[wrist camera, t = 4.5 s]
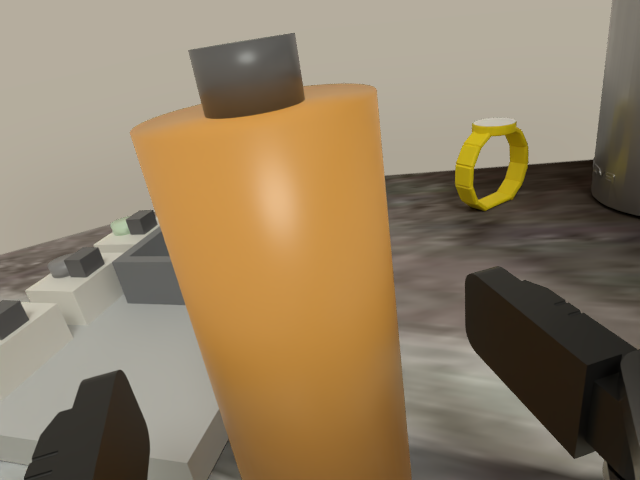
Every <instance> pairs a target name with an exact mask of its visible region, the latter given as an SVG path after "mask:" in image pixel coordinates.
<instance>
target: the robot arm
mask: <svg viewBox="0 0 640 480" xmlns="http://www.w3.org/2000/svg"><path fill="white" fill-rule="evenodd" d="M591 192H592V195H593V196H594V197H595V198H596V199H597V200H598V201H599V202H601V203H603V204H604V205H606V206H608V207H611V208H613V209H616V210H619V211H622V212H625V213H629V214H633V215H637V216H640V0H612V8H611V17H610V26H609V35H608V44H607V53H606V61H605V70H604V79H603V88H602V97H601V106H600V115H599V123H598V133H597V141H596V150H595V157H594V160H593V176H592V185H591ZM465 326H466V333H467V337H468V339H469V342H470V344H471V346H472V348H473V349H474V351H475V352H476V353H477V354H478V355H479V356H480V357H481V359H482V360H483V361H484V362H485V363H486V364H487V365H488V366H489V367H490V368H491V369H492V370H493V371H494V373H495V374H496V375H497V376H498V377H499V378H500V379H501V380H502V381H503V382H504V383H505V384H506V386H507V387H508V388H509V389H510V390H511V391H512V392H513V393H514V394H515V395H516V396H517V397H518V398H519V400H520V401H521V402H522V403H523V404H524V405H525V406H526V407H527V408H528V409H529V410H530V411H531V413H532V414H533V415H534V416H535V417H536V418H537V419H538V420H539V421H540V422H541V423H542V424H543V425H544V427H545V428H546V429H547V430H548V431H549V432H550V433H551V434H552V435H553V436H554V437H555V438H556V440H557V441H558V442H559V443H560V444H561V445H562V446H563V447H564V448H565V449H566V450H567V451H568V452H569V454H570V455H571V456H572V457H573V458H574V459H575V458H578V457H581V456H584V455H586V454H589V453H592V452H594V451H596V452H597V453H598V454H599V455H600V456H601V457H602V458H603V459H604V462H603V478H604V480H640V349H639V350H637V349H636V348H634V347H633V346H631V345H630V344H629V343H627V342H626V341H624V340H623V339H621V338H620V337H618V336H617V335H615V334H614V333H612V332H611V331H610V330H608V329H607V328H605V327H604V326H602V325H601V324H599V323H598V322H596V321H595V320H593V319H592V318H590V317H589V316H588V315H586V314H585V313H582V314H581V312H580V310H579V309H577V308H576V307H574V306H573V305H571V304H570V303H566V302H565V300H564V299H563V298H561V297H560V296H558V295H557V294H555V293H554V292H552V291H551V290H550V289H548V288H546V287H543V286H540V285H537V284H534V283H532V282H529V281H526V280H524V281H520V280H519V279H518V278H516V277H515V276H513V275H512V274H511V273H509V272H508V271H506V270H505V269H504V268H502V267H499V266H497V267H493V268H489V269H486V270H482V271H478V272H475V273H471V274H469V275H467V277H466V280H465ZM149 457H150V439H149V433H148V428H147V424H146V421H145V419H144V417H143V414H142V412H141V409H140V407H139V405H138V402H137V400H136V398H135V395H134V393H133V391H132V388H131V386H130V384H129V381H128V379H127V377H126V375H125V373H124V372H123V371H122V370H116V371H113V372H109V373H105V374H102V375H98V376H95V377H91V378H87V379H84V380H82V381H81V383H80V385H79V388H78V391H77V395H76V398H75V401H74V404H73V407H72V408H71V409H68V410H64V411H61V412H59V413H58V414H57V415H56V416H55V417H54V419H53V420H52V421H51V422H50V424H49V425H48V426H47V427H46V429H45V430H44V431H43V432H42V434H41V435H40V437H39V440H38V442H37V445H36V448H35V450H34V453H33V456H32V458H31V459H32V463H29V466H28V469H27V471H26V474H25V476H24V480H147V478H148V467H149Z"/></svg>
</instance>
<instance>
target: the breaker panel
mask: <svg viewBox="0 0 640 480" xmlns="http://www.w3.org/2000/svg"><path fill="white" fill-rule="evenodd" d="M110 226H111V228H112V231H113V232H112V233H111V234H109V235H108V236H106V237H105V238H103V239H102V240H100V241H99V242H97V243H96V244H94V247H83V248H82V249H80V250H78V251H77V252H75V253H73V254H67V255H64V256H61V257H58V258H56V259H54V260H52V261H51V262H50V263H49V264H48V268H49V270H50V273H51V274H49V275H48V276H46V277H45V278H43V279H42V280H40V281H39V282H37V283H36V284H34V285H33V286H31V287H30V288H28V289H27V290H25V291H26V293H27V295H28V297H29V300H30V302H20V301H9V300H2V301H1V302H0V460H1V461H7V462H12V463H18V464H24V465H29V463H32V459H31V458H32V456H33V453H34V450H35V448H36V445H37V442H38V440H39V437H40V435H41V434H42V432H43V431H44V430H45V429H46V427H47V426H48V425H49V424H50V422H51V421H52V420H53V419H54V417H55V416H56V415H57V414H58V413H59V412H61V411H64V410H68V409H71V408H72V407H73V404H74V401H75V398H76V395H77V391H78V388H79V385H80V383H81V381H82V380H84V379H87V378H91V377H95V376H98V375H102V374H105V373H109V372H113V371H116V370H122V371H123V372H124V373H125V375H126V377H127V379H128V381H129V384H130V386H131V388H132V391H133V393H134V395H135V398H136V400H137V402H138V405H139V407H140V409H141V412H142V414H143V417H144V419H145V421H146V424H147V428H148V433H149V439H150V457H149V467H148V478H147V480H207V479H208V477H209V475H210V473H211V471H212V469H213V467H214V466H215V464H216V462H217V460H218V458H219V456H220V454H221V452H222V450H223V448H224V446H225V445H226V443H227V441H228V439H229V438H228V435H227V432H226V429H225V426H224V423H223V419H222V416H221V413H220V410H219V407H218V404H217V401H216V398H215V395H214V392H213V389H212V385H211V382H210V379H209V376H208V373H207V370H206V367H205V364H204V361H203V358H202V355H201V351H200V348H199V345H198V342H197V339H196V336H195V333H194V330H193V327H192V324H191V321H190V317H189V314H188V311H187V308H186V305H185V302H184V299H183V296H182V293H181V290H180V287H179V283H178V280H177V277H176V274H175V271H174V268H173V265H172V262H171V259H170V256H169V252H168V249H167V246H166V243H165V240H164V237H163V234H162V231H161V228H160V225H159V222H158V218H157V217H155V215H154V212H153V210H144V211H143V210H142V211H138V212H137V213H135V214H133V215H132V216H130V217H124V218H121V219H118V220H116V221H114V222H112V223H111V224H110Z"/></svg>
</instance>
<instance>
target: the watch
mask: <svg viewBox="0 0 640 480" xmlns="http://www.w3.org/2000/svg"><path fill="white" fill-rule="evenodd" d="M501 135H505V136H506V138H507V140H508V143H509V145H510V163H509V167H508V170H507V174H506V177H505V180H504V181H503V183H502V184H501V186H500V187H499V189H498V191H497V192H496V193H493V194H491V195H489V196H487V197H484V198H482V199H480V200H478V199H477V196H476V193H475V191H474V188H473V176H474V166H475V163H476V161H477V158H478V155H479V153H480V150H481V148H482V147H483V146H484V144H485V143H486V142H487V141H488V139H489V138H490V137H491V136H501ZM527 145H528V144H527V142H526V139H525V137H524V134H523V132H522V131H521V129H519V128H517V127H516V120H515V119H511V118H487V119H481V120H477V121H474V122H473V123H472V134H471V135H470V136H469V137H468V139H467V140H466V141H465V142H464V145H463V146H462V148H461V151H460V154H459V157H458V160H457V162H456V164H457V165H456V169H455V184H456V185H455V186H456V189H457V191H458V194H459V196H460V199H462V201H463V202H464V203H466V204H467V205H469V206H470V207H472V208H476V209H479V210H482V211H486V210H488V209H490V208H493V207H495V206H497V205H499V204H501V203H504V202H506V201H508V200H513V198H514V196H515V195H516V193H517V192H518V190H519V188H520V187H521V185H522V182H523V181H524V177H525V174H526V170H527V167H528V146H527Z"/></svg>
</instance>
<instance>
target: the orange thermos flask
mask: <svg viewBox="0 0 640 480" xmlns="http://www.w3.org/2000/svg"><path fill="white" fill-rule="evenodd" d="M189 55H190V59H191V63H192V67H193V71H194V75H195V79H196V83H197V87H198V91H199V95H200V99H201V103H202V104H199V105H195V106H191V107H188V108H183V109H180V110H176V111H173V112H170V113H167V114H163V115H161V116H158V117H155V118H152V119H150V120H147V121H145V122H143V123H141V124H139V125H137V126H135V127H134V128H133V129H132V130H131V131H130V135H131V138H132V141H133V144H134V147H135V150H136V154H137V157H138V159H139V163H140V166H141V169H142V172H143V175H144V178H145V181H146V184H147V188H148V191H149V194H150V197H151V200H152V203H153V206H154V209H155V212H156V215H157V218H158V222H159V225H160V228H161V231H162V234H163V237H164V240H165V243H166V246H167V249H168V252H169V256H170V259H171V262H172V265H173V268H174V271H175V274H176V277H177V280H178V283H179V287H180V290H181V293H182V296H183V299H184V302H185V305H186V308H187V311H188V314H189V317H190V321H191V324H192V327H193V330H194V333H195V336H196V339H197V342H198V345H199V348H200V351H201V355H202V358H203V361H204V364H205V367H206V370H207V373H208V376H209V379H210V382H211V385H212V389H213V392H214V395H215V398H216V401H217V404H218V407H219V410H220V413H221V416H222V419H223V423H224V426H225V429H226V432H227V435H228V438H229V441H230V444H231V447H232V450H233V453H234V457H235V460H236V463H237V466H238V469H239V472H240V475H241V478H242V480H412V478H411V466H410V455H409V444H408V433H407V422H406V411H405V400H404V388H403V377H402V366H401V355H400V344H399V333H398V322H397V311H396V299H395V288H394V277H393V266H392V255H391V244H390V233H389V221H388V210H387V199H386V188H385V177H384V166H383V155H382V144H381V132H380V121H379V110H378V99H377V90H376V88H375V87H373V86H370V85H364V84H324V85H311V86H303V83H302V77H301V70H300V64H299V57H298V51H297V44H296V38H295V33H290V34H284V35H277V36H271V37H264V38H258V39H252V40H246V41H240V42H234V43H227V44H222V45H215V46H209V47H204V48H198V49H193V50H189Z"/></svg>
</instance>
